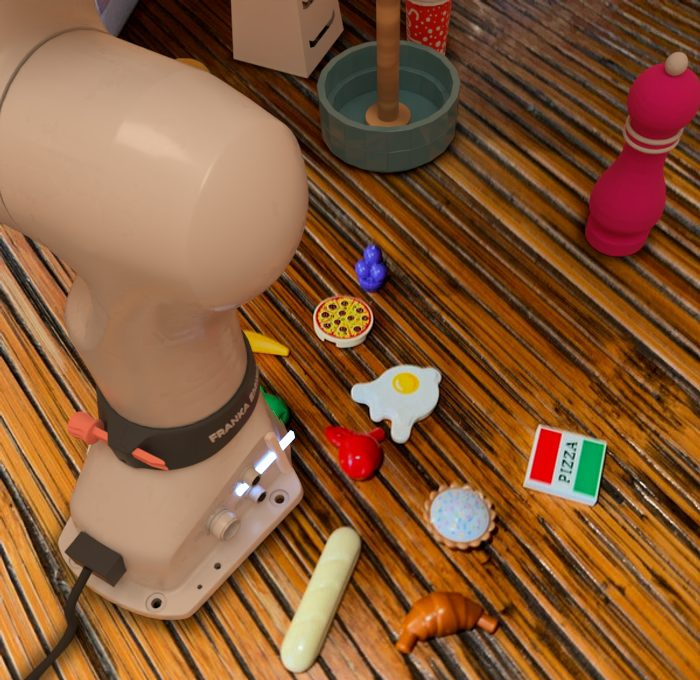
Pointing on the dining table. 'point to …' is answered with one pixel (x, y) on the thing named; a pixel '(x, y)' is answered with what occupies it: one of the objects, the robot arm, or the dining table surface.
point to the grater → (284, 33)
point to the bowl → (414, 92)
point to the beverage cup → (428, 22)
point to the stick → (388, 69)
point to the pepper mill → (642, 158)
